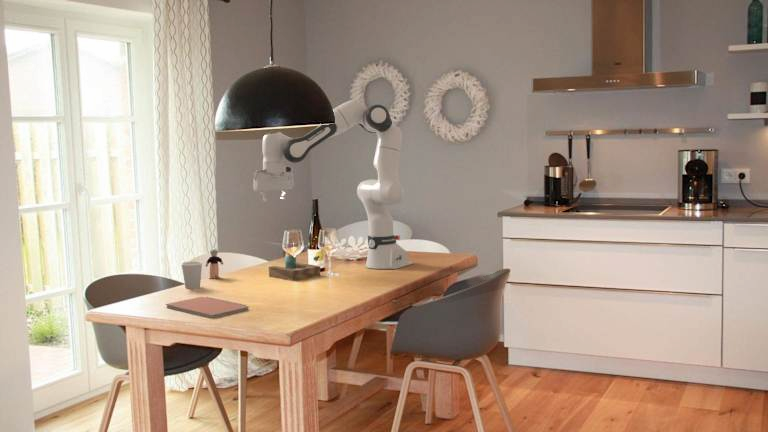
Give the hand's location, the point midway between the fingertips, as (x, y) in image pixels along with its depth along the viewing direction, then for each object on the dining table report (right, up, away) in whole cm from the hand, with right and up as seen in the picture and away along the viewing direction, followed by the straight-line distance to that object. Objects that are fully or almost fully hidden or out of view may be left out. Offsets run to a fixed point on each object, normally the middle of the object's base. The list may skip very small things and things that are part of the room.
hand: (274, 200), depth 357 cm
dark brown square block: (+10, -32, -11) cm, 36 cm away
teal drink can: (+8, -32, -9) cm, 34 cm away
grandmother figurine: (-23, -33, -12) cm, 42 cm away
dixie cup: (-28, -36, -33) cm, 56 cm away
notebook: (-14, -40, -70) cm, 82 cm away
